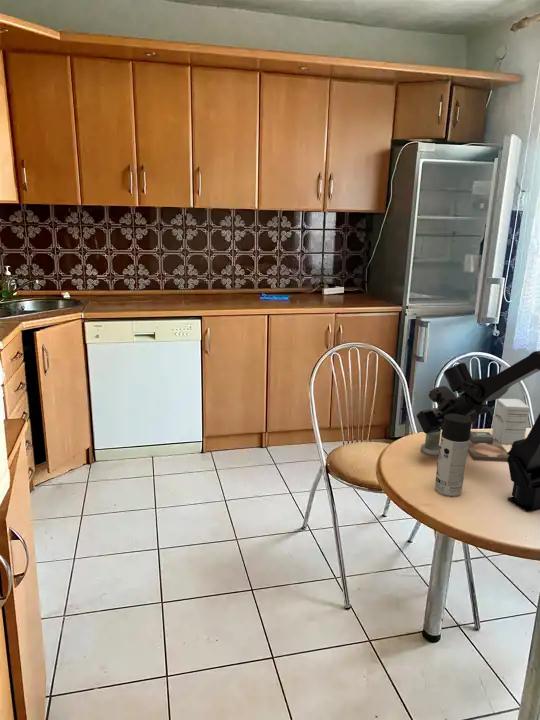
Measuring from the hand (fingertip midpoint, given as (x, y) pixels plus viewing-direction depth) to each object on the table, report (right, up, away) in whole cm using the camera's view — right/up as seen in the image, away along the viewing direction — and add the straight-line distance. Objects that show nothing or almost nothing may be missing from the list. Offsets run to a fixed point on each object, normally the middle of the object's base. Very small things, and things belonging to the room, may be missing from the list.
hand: (430, 429), depth 164 cm
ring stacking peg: (0, -7, +1) cm, 7 cm away
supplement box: (+27, -5, +11) cm, 30 cm away
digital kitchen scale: (+17, -7, +2) cm, 18 cm away
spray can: (-2, -13, -22) cm, 26 cm away
